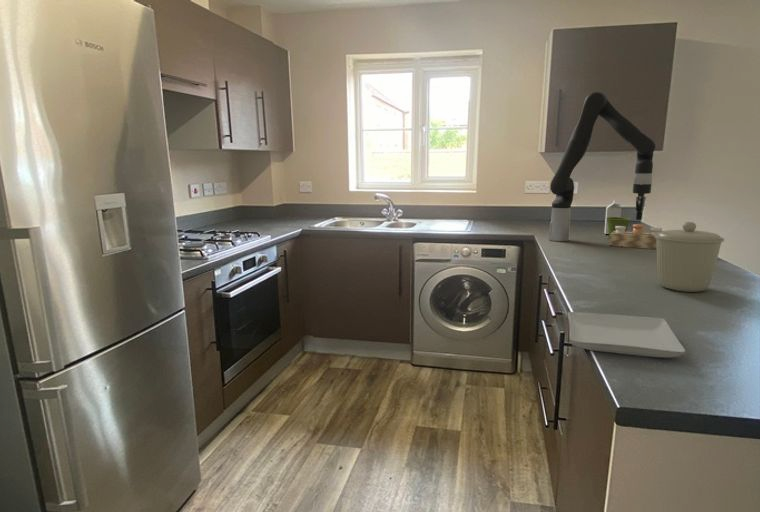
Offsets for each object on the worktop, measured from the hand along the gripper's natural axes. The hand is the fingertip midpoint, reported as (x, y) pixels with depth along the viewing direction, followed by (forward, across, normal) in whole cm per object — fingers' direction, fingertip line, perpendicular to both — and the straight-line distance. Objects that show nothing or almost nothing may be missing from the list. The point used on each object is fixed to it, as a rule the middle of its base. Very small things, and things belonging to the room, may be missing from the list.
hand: (638, 219), depth 220 cm
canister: (+12, +81, +21) cm, 85 cm away
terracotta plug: (+11, +1, 0) cm, 11 cm away
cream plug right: (+12, +1, +8) cm, 14 cm away
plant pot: (+13, -17, -11) cm, 24 cm away
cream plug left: (+12, +1, -7) cm, 14 cm away
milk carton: (+13, -35, -16) cm, 40 cm away
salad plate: (+13, +141, +11) cm, 142 cm away
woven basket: (+13, +1, 0) cm, 13 cm away
